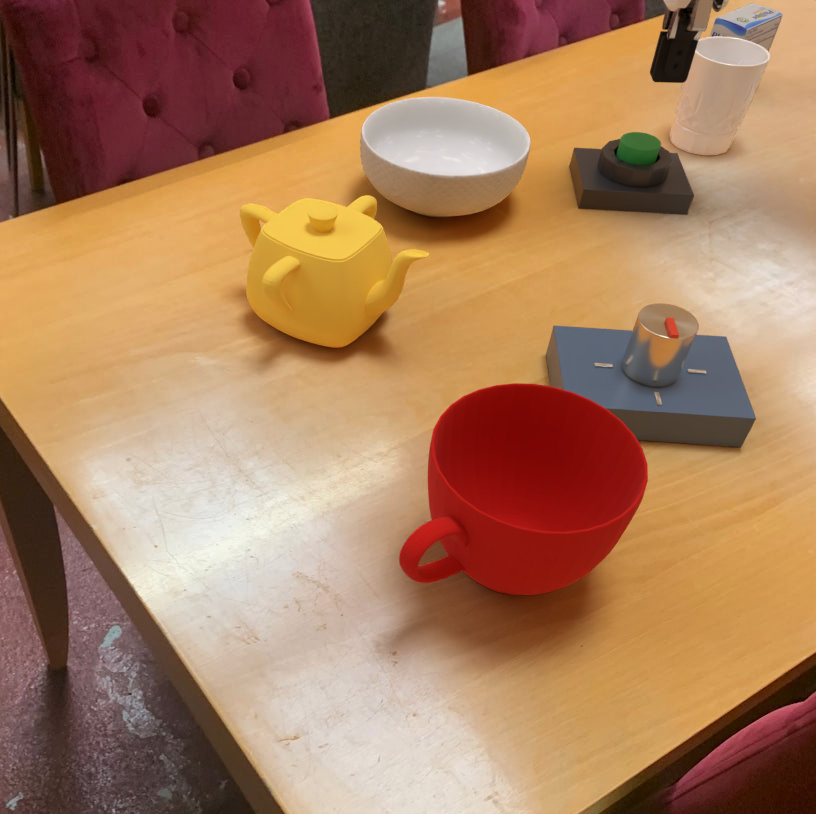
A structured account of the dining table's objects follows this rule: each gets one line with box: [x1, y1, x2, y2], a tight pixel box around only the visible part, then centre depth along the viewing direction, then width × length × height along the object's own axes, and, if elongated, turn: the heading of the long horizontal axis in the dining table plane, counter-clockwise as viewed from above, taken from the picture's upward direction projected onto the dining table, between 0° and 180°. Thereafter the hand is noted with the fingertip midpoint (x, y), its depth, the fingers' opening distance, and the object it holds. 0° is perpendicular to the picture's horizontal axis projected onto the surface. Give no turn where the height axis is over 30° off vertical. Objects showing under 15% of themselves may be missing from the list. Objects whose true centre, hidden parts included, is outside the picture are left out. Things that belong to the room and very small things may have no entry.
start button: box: [616, 131, 662, 165], centre depth 91 cm, size 4×4×2 cm
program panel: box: [545, 325, 757, 448], centre depth 71 cm, size 14×10×3 cm
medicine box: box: [709, 2, 784, 53], centre depth 108 cm, size 8×4×9 cm, turn 130°
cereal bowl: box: [359, 96, 532, 218], centre depth 90 cm, size 17×17×7 cm
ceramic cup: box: [398, 382, 649, 596], centre depth 56 cm, size 13×17×10 cm
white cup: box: [668, 36, 771, 156], centre depth 98 cm, size 8×8×10 cm
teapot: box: [239, 194, 430, 348], centre depth 75 cm, size 14×13×10 cm
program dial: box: [621, 303, 700, 387], centre depth 68 cm, size 4×4×5 cm
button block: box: [568, 138, 695, 216], centre depth 93 cm, size 11×9×4 cm
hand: (667, 78), depth 86 cm, fingers closed
